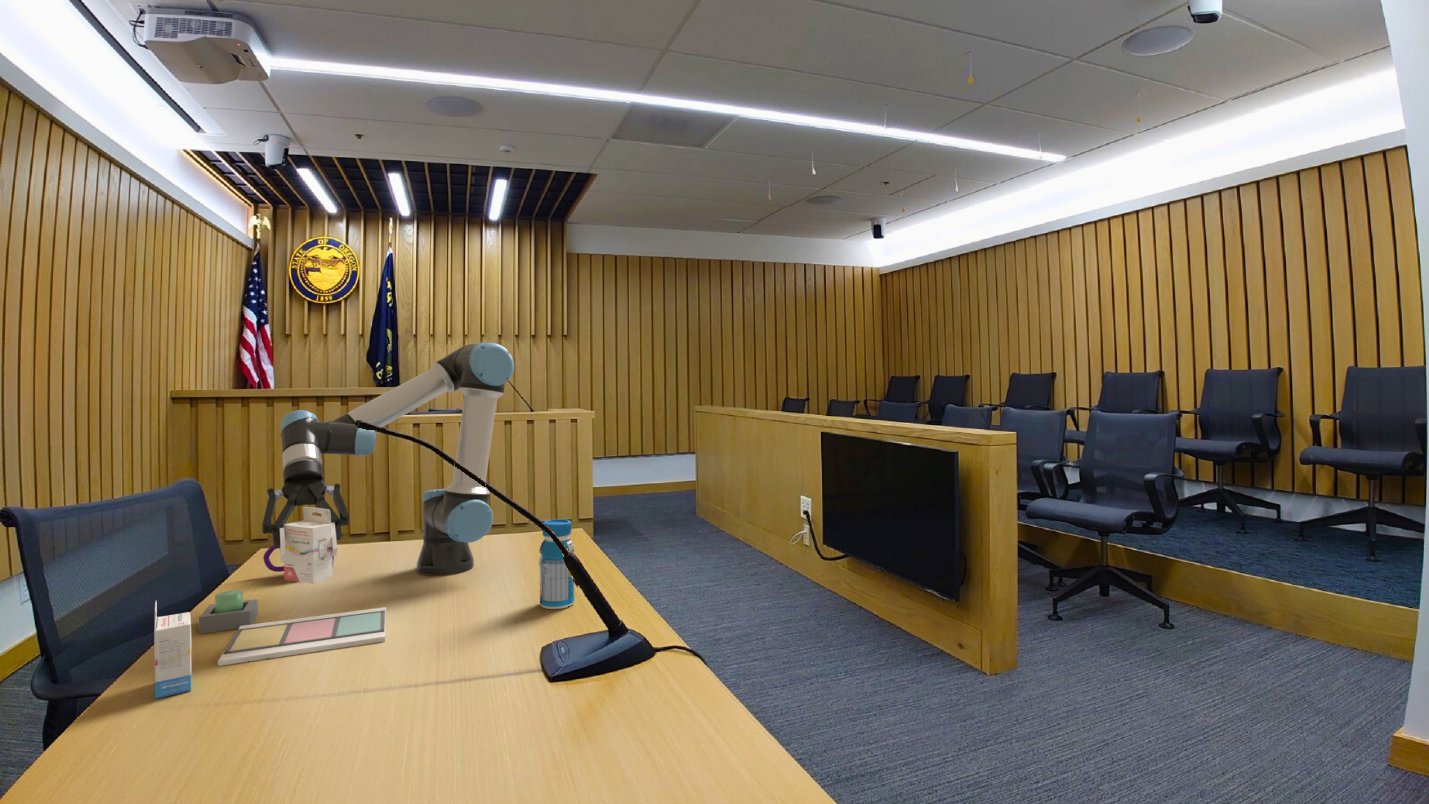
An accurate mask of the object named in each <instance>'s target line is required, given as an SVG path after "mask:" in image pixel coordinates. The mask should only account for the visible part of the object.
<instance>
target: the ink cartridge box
mask: <svg viewBox="0 0 1429 804" xmlns="http://www.w3.org/2000/svg"><path fill="white" fill-rule="evenodd" d="M315 513H317V514H321V516H320V515H313V514H315ZM302 515H303V520H298V521H293V522H290V523H289V522H287V523H285V524H284V526H283V528H284V535H285V554H286V555H285V562H283V566H284V571H283V579H284V581H285V580H286V581H292V582H297V583H303V584H304V583H305V584H310V585H313V584H316V583H320V582H323V581H327V580H329V579H332V578H333V568H332V524H331V514H330V510H329V509H322V508H316V507H315V506H314V507H312V506H311V507H309V506H304V505H303V507H302Z"/></svg>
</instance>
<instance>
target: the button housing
mask: <svg viewBox="0 0 1429 804" xmlns="http://www.w3.org/2000/svg"><path fill="white" fill-rule="evenodd" d="M256 616H257V617H258V616H259V600H258V598H255V599H248V600H247V599H246V600H243V610H239V611H231V612H223V613H215V603H213V604H212V603H211V604H209V605H208V606H207V607H206V608H205V609H204V611H203V612H202V613H201V614H200V615H199V616H198V634H200V635H201V634H207V633H215V632H224V631H231V630H230V629H232V630H238V629H239V627H240V626H243V625H251V624H254V622H255V620H256V618H257V617H256ZM253 621H254V622H253Z"/></svg>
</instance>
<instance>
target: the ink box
mask: <svg viewBox="0 0 1429 804" xmlns="http://www.w3.org/2000/svg"><path fill="white" fill-rule="evenodd" d="M154 602H155V603H154V626H153V627H154V628H153V629H154V631H153V633H154V634H153V635H154V636H153V637H154V641H153V643H154V645H153V647H154V651H153V653H154V656H153V657H154V689H155V690H154V695H155V696H154V697H155V699H161V698H165V697H169V696H174V695H178V694H183V693H186V692H191V691H192V620H191V612H189V611H187V612H182V613H175V614H170V615H163V616H157V615H158V614H157V613H158V607H157V605H158V604H157V600H155V601H154Z"/></svg>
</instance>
